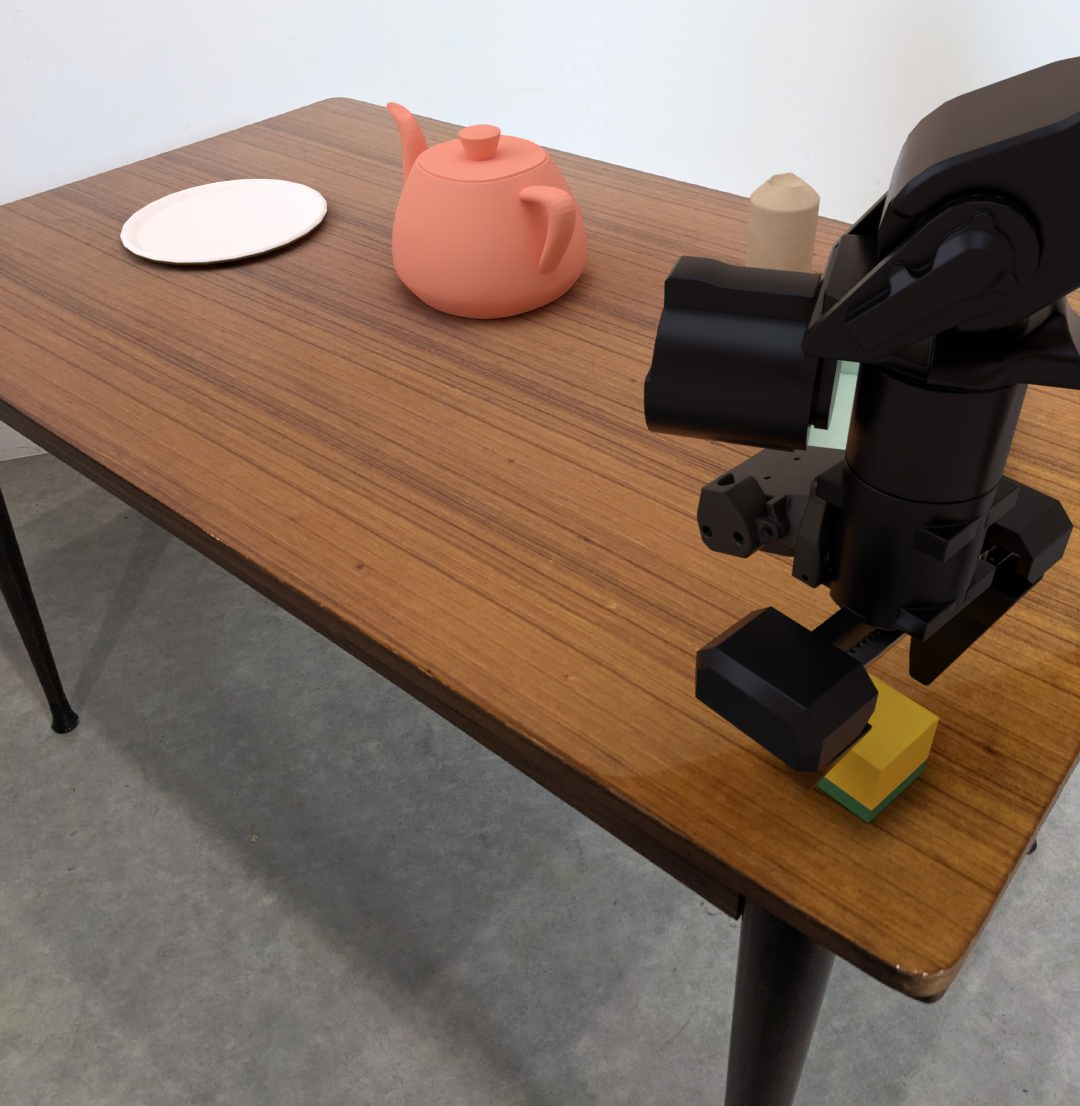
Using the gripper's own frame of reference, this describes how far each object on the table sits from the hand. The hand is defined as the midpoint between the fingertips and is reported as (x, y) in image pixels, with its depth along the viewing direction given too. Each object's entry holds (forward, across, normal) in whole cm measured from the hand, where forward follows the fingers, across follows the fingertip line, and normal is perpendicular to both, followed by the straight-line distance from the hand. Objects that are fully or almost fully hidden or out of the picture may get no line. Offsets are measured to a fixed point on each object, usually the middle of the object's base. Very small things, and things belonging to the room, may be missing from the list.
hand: (863, 729), depth 50 cm
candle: (+3, -36, -35) cm, 51 cm away
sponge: (+3, 0, 0) cm, 3 cm away
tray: (+3, -24, -14) cm, 28 cm away
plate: (+3, -10, -85) cm, 86 cm away
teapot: (+3, -22, -56) cm, 60 cm away
